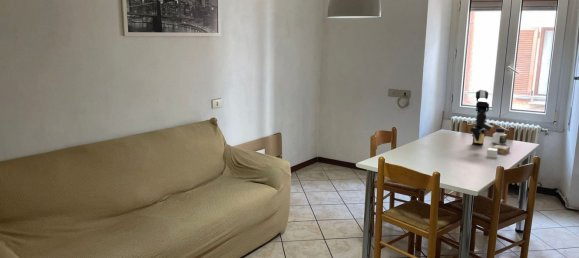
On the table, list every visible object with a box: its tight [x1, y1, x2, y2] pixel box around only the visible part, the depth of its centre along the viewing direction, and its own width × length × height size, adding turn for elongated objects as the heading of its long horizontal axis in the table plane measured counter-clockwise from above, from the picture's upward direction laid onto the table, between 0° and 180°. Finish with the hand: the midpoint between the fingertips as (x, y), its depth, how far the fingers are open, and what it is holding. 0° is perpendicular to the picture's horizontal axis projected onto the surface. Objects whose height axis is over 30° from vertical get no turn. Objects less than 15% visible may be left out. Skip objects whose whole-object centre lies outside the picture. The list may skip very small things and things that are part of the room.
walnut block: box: [491, 144, 511, 155], centre depth 325 cm, size 9×9×4 cm
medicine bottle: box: [491, 126, 508, 145], centre depth 350 cm, size 7×7×12 cm
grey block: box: [486, 147, 498, 159], centre depth 313 cm, size 6×6×5 cm
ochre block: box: [474, 134, 486, 144], centre depth 324 cm, size 5×5×6 cm
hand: (478, 140), depth 324 cm, fingers closed on ochre block, 5 cm apart
